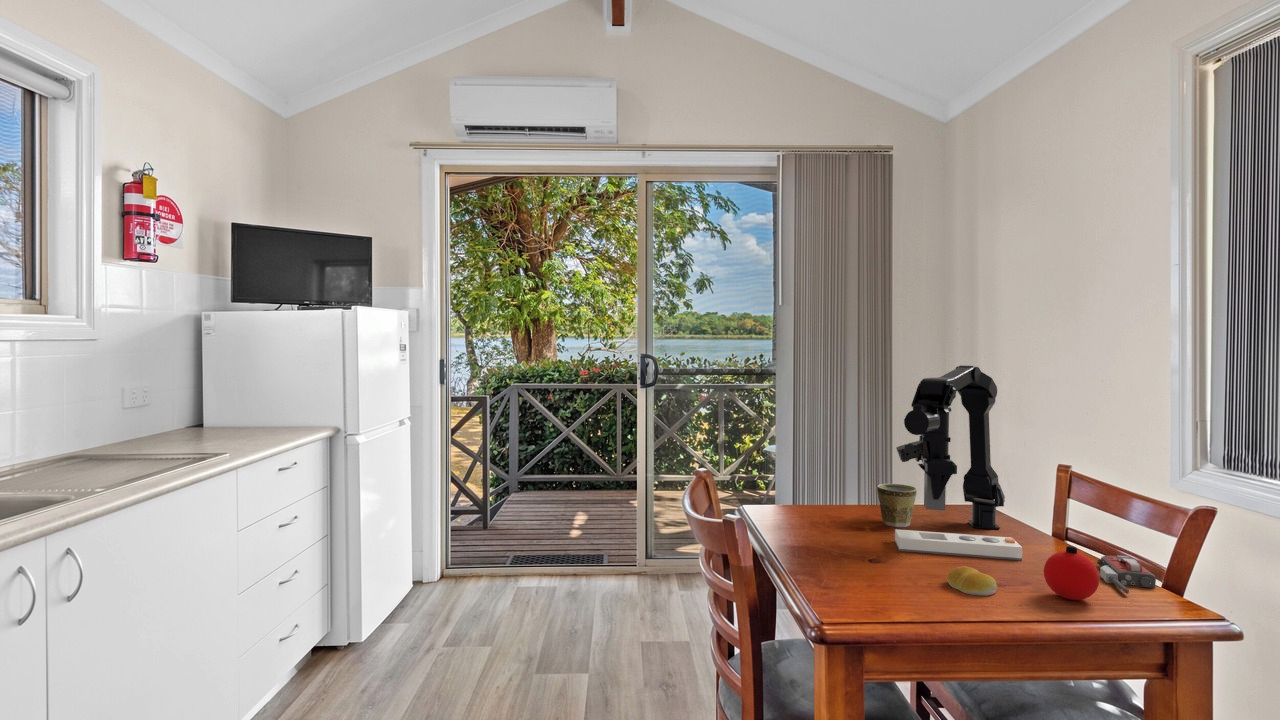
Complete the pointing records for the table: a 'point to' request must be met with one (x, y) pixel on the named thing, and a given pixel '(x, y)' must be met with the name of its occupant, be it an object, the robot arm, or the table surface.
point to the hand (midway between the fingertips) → (934, 497)
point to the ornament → (1071, 574)
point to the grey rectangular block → (928, 496)
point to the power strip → (958, 544)
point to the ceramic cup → (896, 503)
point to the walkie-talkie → (1125, 572)
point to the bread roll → (971, 581)
